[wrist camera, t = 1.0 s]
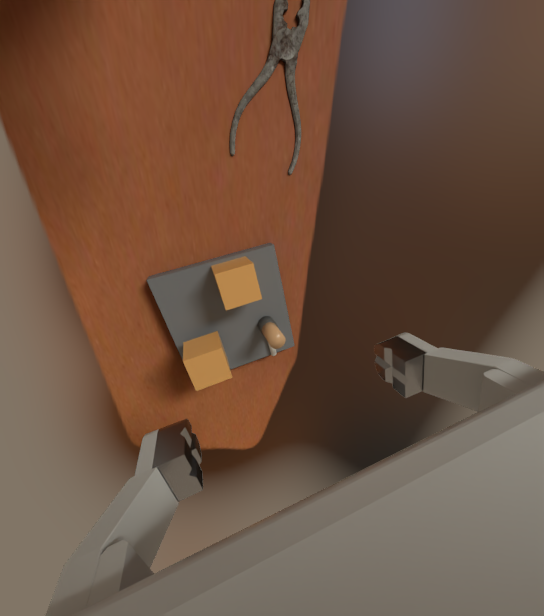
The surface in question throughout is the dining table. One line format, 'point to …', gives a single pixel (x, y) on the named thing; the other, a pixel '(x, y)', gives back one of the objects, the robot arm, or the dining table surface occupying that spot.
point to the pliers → (281, 49)
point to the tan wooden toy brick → (237, 282)
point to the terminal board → (222, 317)
